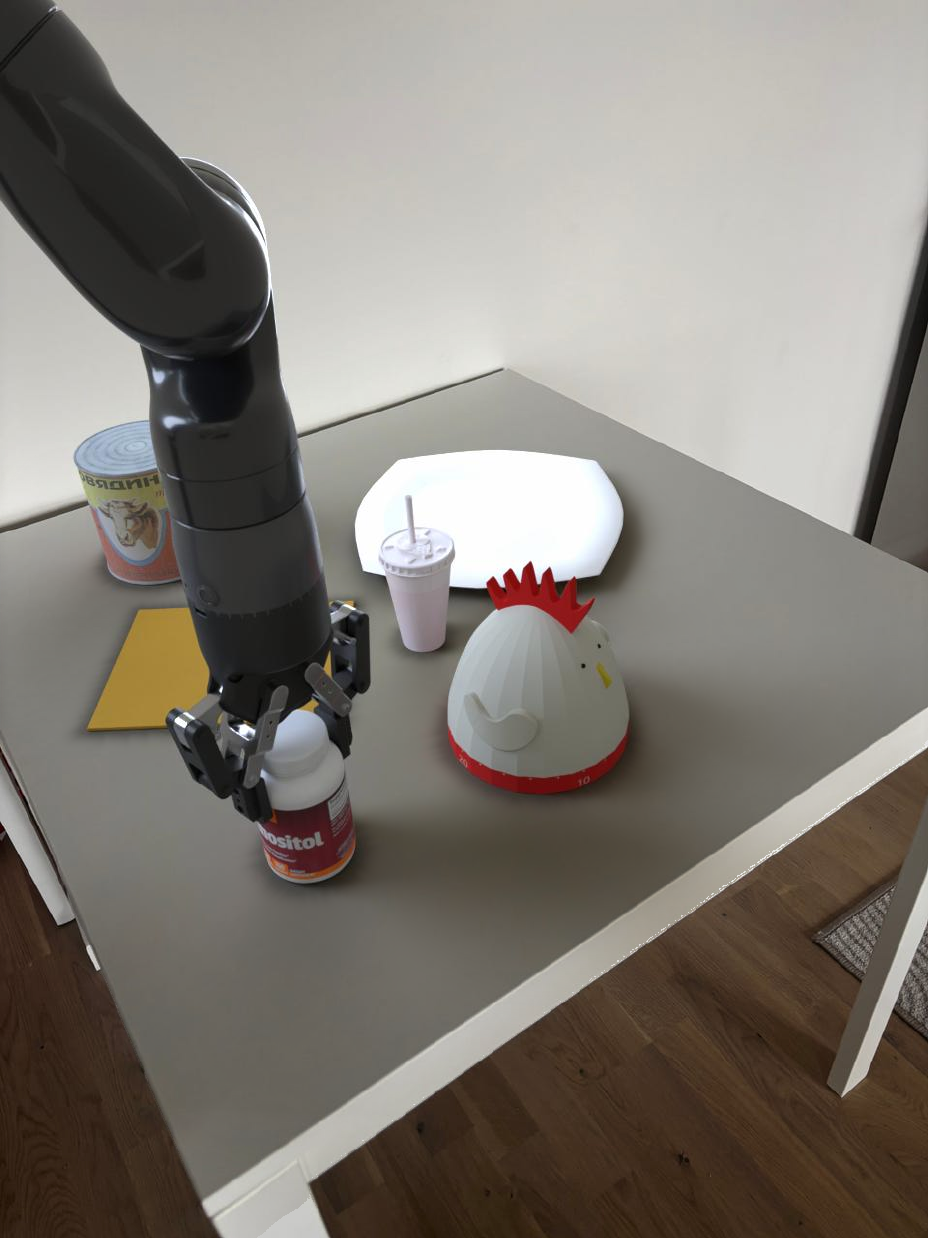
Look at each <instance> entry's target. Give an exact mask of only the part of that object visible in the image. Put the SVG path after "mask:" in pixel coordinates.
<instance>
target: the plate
mask: <svg viewBox="0 0 928 1238" xmlns="http://www.w3.org/2000/svg"><path fill="white" fill-rule="evenodd" d="M406 495H411V496H412V504H413V515H414V527H416V526H424V527H432V528H436V529H439V530H442V531H444V532H446V533H447V534H448V535H450V536H451V537H452V539H453V541H454V548H455V552H456V554H455V559H454V561H453V562H452V564H451V574H450V584H449V589H450V588H452V589H464V590H466V589H467V590H477V591H478V590H488V589H487V585H486V582H487V581H488V580H489V579H490V578H491V577H492V576H494V577H495V579H496V580H497V582H498V583H499V585H500V587H501V588H502V590H503V589H504V590H506V587H505V584H504V580H503V574H504V573H505V572H506V571H507V570H508V569H509V568H511V569H512V570H513V571H514V573H515V575H516V577H517V578H518V580H519V582H520V583H521V576H522V570H523V568H524V567H525V566H526V565H527V564H528V563H529V562H530V561H531V562H532V564H533V567H534V571H535V575H536V580H537V584H538V587H540V585H541V579H542V574H543V573H544V572H545V571H546V570H547V569H548V568H549V567H551V570H552V573H553V578H554V582H555V584H559V583H566V582H567V583H568V582H569V581H570V580H571V579H572V578H573V577H574V576H575V577H576V581H579V580H585V579H592V578H597V577H600V576H601V574H602V572H603V570H604V569H605V567H606V565H607V563H608V561H609V559H610V558H611V556H612V554H613V551H614V550H615V548H616V546H617V543H618V542H619V538H620V536H621V532H622V530H623V527H624V526H623V525H624V513H625V512H624V508H623V503H622V499H621V497H620V496H619V493H618V491H617V489H616V487H615V486H614V484H613V483H612V481H611V479H610V478H609V477H608V475H607V474H606V472H605V471H604V470H603V468H602V467H601V465H600V464H599V463H598V462H597V461H596V460H593V459H586V458H582V457H581V458H580V457H574V456H566V455H560V454H553V453H552V454H551V453H543V452H534V451H522V450H505V449H504V450H503V449H489V450H488V449H487V450H486V449H485V450H469V451H458V452H449V453H440V454H432V455H423V456H415V457H409V458H402V459H398V460H397V461H396V462H395V463H394V464H393V465H392V466H391V467H390V468H389V469H387V471H386V472H384V474H383V475H382V476H381V477H380V478H379V479H378V480H377V481H376V482H375V484H373V486H372V487H371V488H370V490H368V492H367V494H366V495H365V496H364V498H363V499H362V501H361V503H360V505H359V507H358V509H357V512H356V517H355V521H354V529H355V530H354V531H355V534H354V535H355V542H356V546H357V551H358V556H359V560H360V563H361V568H362V571H363V573H365V574H370V575H375V576H378V577H379V576H380V577H384V578H386V574H385V570H384V569H383V568H382V567H381V565H380V564H379V561H378V546H379V543H380V542H381V541H382V539H383V538H385V537H386V536H387V535H389V534H390V533H392V532H394V531H397V530H400V529H403V528H408V525H407V514H406V503H405V496H406Z"/></svg>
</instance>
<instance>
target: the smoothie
mask: <svg viewBox="0 0 928 1238" xmlns="http://www.w3.org/2000/svg"><path fill="white" fill-rule="evenodd" d="M405 503H406V514H407V525H408V528H403V529H400V530H397V531H394V532H392V533H390V534H389V535H387V536H386V537H385V538H383V539H382V541H381V542H380V543H379V546H378V561H379V564H380V565H381V567H382V568H383V569H384V570H385V574H386V577H385V578H386V581H387V585H388V589H389V593H390V597H391V601H392V605H393V608H394V612H395V616H396V619H397V624H398V628H399V631H400V634H401V639H402V643H403V645H404V646H405V648H407V649H408V650H410V651H411V652H416V653H428V652H433V651H436V650H437V649H439V648H441V647H442V646H443V645H444V644H445V641H446V633H447V631H446V630H447V619H448V608H449V595H450V587H449V584H450V574H451V564H452V562H453V561H454V559H455V554H456V552H455V548H454V541H453V539H452V537H451V536H450V535H448V534H447V533H446V532H444V531H442V530H439V529H436V528H432V527H424V526H416V527H414V515H413V504H412V496H411V495H406V496H405Z"/></svg>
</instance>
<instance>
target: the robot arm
mask: <svg viewBox="0 0 928 1238" xmlns="http://www.w3.org/2000/svg"><path fill="white" fill-rule="evenodd" d="M0 202H1V203H2V204H3V206H4V208H6V210H7V211H8V212H9V214H10V215H11V216H12V218H13V219H14V220H15V222H16V223H17V224H18V225H19V226H20V228H21V229H22V230H23V231H24V232H25V233H26V234H27V235H28V236H29V238H30V239H31V240H32V241H33V243H35V245H36V246H37V247H38V248H39V249H40V251H42V253H43V254H44V256H46V258H47V259H49V261H50V262H51V263H52V264H53V265H54V266H55V268H56V269H57V270H58V271H59V272H60V273H61V275H62V276H63V277H64V278H65V279H66V280H67V281H68V283H69V284H70V285H71V286H72V287H73V289H75V290H76V291H77V292H78V293H79V294H80V296H81V297H82V298H83V299H84V300H85V301H87V302H88V304H90V305H91V306H92V308H94V309H95V311H97V312H98V313H99V314H100V315H101V316H102V317H103V318H104V319H105V320H107V321H108V322H109V323H110V324H111V325H113V326H114V328H116V329H117V330H119V331H120V332H121V333H122V334H124V335H125V336H127V337H128V338H130V339H131V340H133V341H134V342H135V343H137V344H139V347H140V352H141V355H142V359H143V364H144V366H145V371H146V375H147V381H148V386H149V387H148V388H149V407H148V408H149V409H148V420H149V425H150V434H151V442H152V447H153V451H154V456H155V460H156V464H157V468H158V472H159V476H160V480H161V483H162V487H163V491H164V495H165V499H166V502H167V506H168V510H169V515H170V522H171V532H172V542H173V548H174V552H175V556H176V560H177V564H178V568H179V572H180V576H181V583H182V587H183V591H184V594H185V599H186V602H187V606H188V608H189V610H190V613H191V617H192V621H193V625H194V628H195V632H196V636H197V640H198V643H199V647H200V650H201V652H202V655H203V657H204V659H205V661H206V663H207V666H208V668H209V681H208V685H207V696H206V697H204V698H203V699H202V700H201V701H199V702H198V703H197V704H196V705H194V706H193V707H192V708H191V709H189V710H188V711H187V712H186V711H185V710H183V709H182V708H179V707H176V708H173V709H172V710H170V711H169V713H168V714H167V716H166V719H165V722H166V725H167V727H168V728H167V729H168V732H169V733H170V735H171V737H172V740H173V741H174V743H175V746H176V747H177V750H178V752H179V754H180V756H181V758H182V760H183V762H184V764H185V766H186V768H187V771H188V773H189V774H190V776H191V779H192V780H193V781H195V782H196V783H197V784H199V785H201V786H203V787H204V788H206V789H207V790H209V792H212V793H213V794H214V796H216V797H217V798H218V799H220V800H227V799H229V798H230V797H231V800H232V802H233V807H234V810H236V812H238V813H239V814H240V815H242V816H243V817H245V818H246V819H247V820H249V821H250V822H251V823H253V824H254V823H255V822H257V823H258V822H259V823H260V824H262V825H264V824H265V823H267V822H268V821H269V820H270V819H272V818H273V814H272V810H271V806H270V801H269V797H268V793H267V789H266V785H265V780H264V778H262V777H261V776H260V775H261V771H262V766H263V762H264V757H265V753H266V752H270V751H271V750H272V749H273V746H274V741H275V736H276V732H277V727H278V725H279V724H280V723H281V722H283V721H284V720H285V719H286V718H287V717H288V716H289V715H290V714H291V712H293V711H294V710H297V709H299V708H301V707H303V706H305V705H306V704H307V703H309V702H310V701H311V700H312V699H313V700H314V701H315V702H317V703H319V705H317V706H316V707H314V708H313V709H314V714H316V715H318V716H319V717H320V718H321V719H322V720H323V721H324V723H325V725H326V728H327V732H328V737H329V740H331V741H332V742H333V743H334V744H335V745H336V746H337V747H338V749H339V750H340V752H341V754H342V757H343V760H344V761H345V760H346V759H347V758H348V757H349V756H351V747H350V746H352V743H353V732H352V723H351V718H350V712H351V711H352V708H353V701H352V700H353V699H354V698H355V696H356V695H357V694H359V695H363V694H365V693H366V692H367V691H368V690H369V689H370V686H371V684H372V677H371V639H370V638H371V637H370V635H371V634H370V633H371V632H370V616H369V614H367V613H365V612H364V611H361V610H359V609H357V608H356V607H354V608H353V607H351V606H349V605H347V604H345V603H343V602H341V601H342V600H338V599H337V600H334V601H332V602H333V603H332V604H331V605H330V607H329V602H330V601H329V596H328V595H329V594H328V588H327V582H326V577H325V576H326V575H325V569H324V563H323V557H322V551H321V545H320V544H321V543H320V539H319V531H318V526H317V522H316V517H315V514H314V511H313V508H312V505H311V502H310V499H309V496H308V495H309V494H308V490H307V486H306V480H305V474H304V469H303V461H302V456H301V449H300V444H299V443H300V442H299V439H298V432H297V428H296V423H295V418H294V416H293V413H292V412H293V411H292V408H291V404H290V400H289V397H288V394H287V390H286V386H285V383H284V379H283V373H282V368H281V367H282V366H281V359H280V348H279V337H278V329H277V321H276V311H275V301H274V294H273V287H272V278H271V277H272V276H271V269H270V268H271V266H270V260H269V252H268V244H267V237H266V232H265V231H266V230H265V227H264V223H263V220H262V218H261V214H260V213H259V210H258V208H257V207H256V205H255V203H254V202H253V200H252V198H251V197H250V195H249V194H248V193H247V192H246V190H245V189H244V188H243V187H242V185H240V184H239V182H238V181H236V180H235V179H234V178H233V177H232V176H230V175H229V174H228V173H227V172H225V171H224V170H222V169H221V168H219V167H218V166H215V165H213V164H212V163H209V162H207V161H204V160H200V159H197V158H192V157H184V156H181V157H180V156H179V155H177V153H176V152H175V151H174V150H173V149H172V148H171V147H170V146H169V145H168V144H167V143H166V142H165V140H164V139H162V138H161V136H160V135H159V134H158V133H157V132H156V131H155V130H154V128H152V127H151V126H150V125H149V124H148V123H147V122H146V121H145V120H144V118H143V117H141V116H140V114H139V113H137V111H135V109H134V108H133V107H132V106H131V105H130V104H129V102H128V101H126V100H125V98H124V97H123V96H122V95H121V93H120V91H118V89H117V87H116V86H115V83H114V81H113V79H112V76H111V74H110V71H109V69H108V68H107V65H106V63H105V61H104V60H103V58H102V57H101V55H100V53H98V51H97V50H96V48H95V47H94V46H93V45H92V43H91V42H90V40H89V39H88V38H87V37H86V36H85V34H84V33H83V32H82V30H81V29H79V27H78V26H77V25H76V24H75V23H74V22H73V21H72V19H71V18H70V17H69V16H68V15H67V14H66V13H65V12H64V11H63V10H62V9H58V4H57V3H56V2H55V1H54V0H0ZM329 652H330V659H331V677H332V678H331V677H330V676H329V675H328V674H327V673H326V672H325V670H324V666H325V663H326V660H327V657H328V655H329ZM350 665H351V667H350ZM222 712H223V713H222ZM221 714H222V718H221V723H220V726H218V719H219V716H220V715H221ZM244 721H246V722H248V723H251V724H253V725H252V726H255V729H256V730H255V729H253V728H252V727H251V726H250V725H246V724H245V722H244ZM221 739H222V744H221V747H220V746H219V744H218V741H220V740H221ZM242 750H243V753H244V754H243V758H241V754H242Z"/></svg>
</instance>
